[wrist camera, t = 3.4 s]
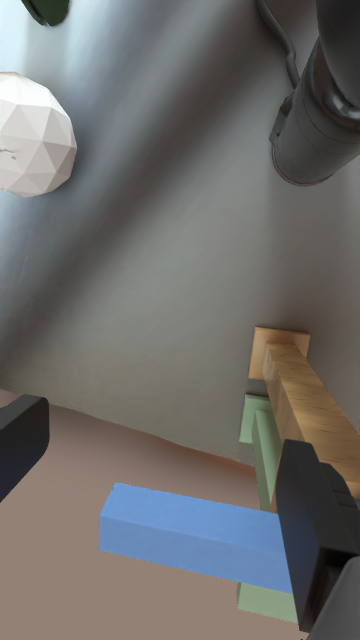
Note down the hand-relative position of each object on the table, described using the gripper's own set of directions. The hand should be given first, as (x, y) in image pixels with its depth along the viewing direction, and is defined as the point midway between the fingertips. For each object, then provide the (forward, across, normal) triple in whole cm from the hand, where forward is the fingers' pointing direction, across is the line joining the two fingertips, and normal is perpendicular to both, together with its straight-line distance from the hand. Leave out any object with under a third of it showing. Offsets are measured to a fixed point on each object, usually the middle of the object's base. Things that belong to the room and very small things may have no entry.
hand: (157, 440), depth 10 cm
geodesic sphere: (+38, +27, -18) cm, 50 cm away
